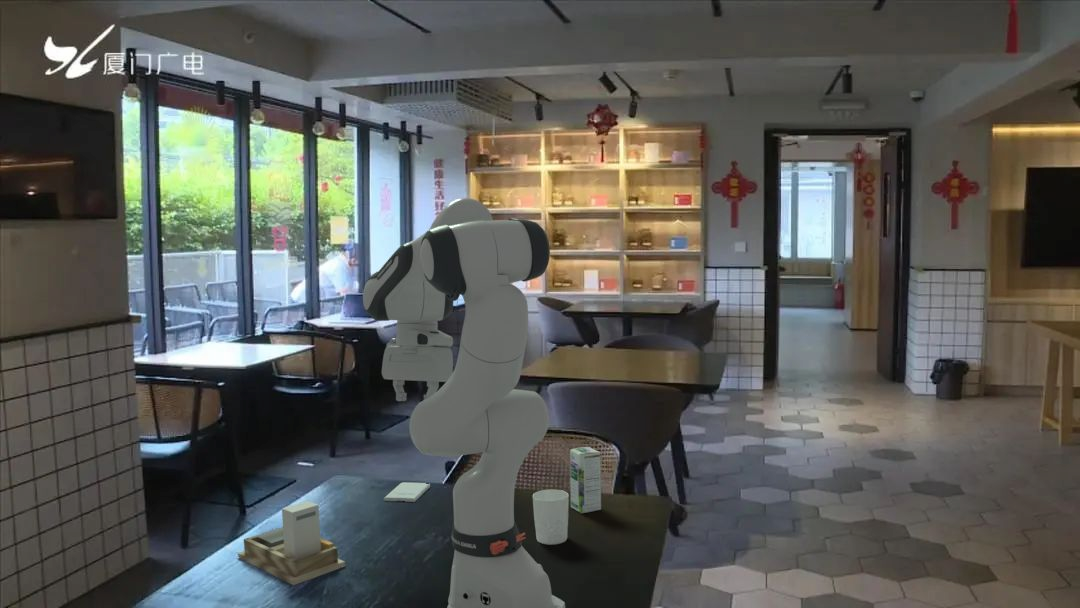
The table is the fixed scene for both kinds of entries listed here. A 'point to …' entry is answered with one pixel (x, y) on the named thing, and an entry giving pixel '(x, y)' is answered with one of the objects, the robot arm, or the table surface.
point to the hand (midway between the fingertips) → (414, 402)
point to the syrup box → (585, 479)
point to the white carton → (301, 530)
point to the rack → (288, 558)
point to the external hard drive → (407, 492)
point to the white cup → (551, 516)
